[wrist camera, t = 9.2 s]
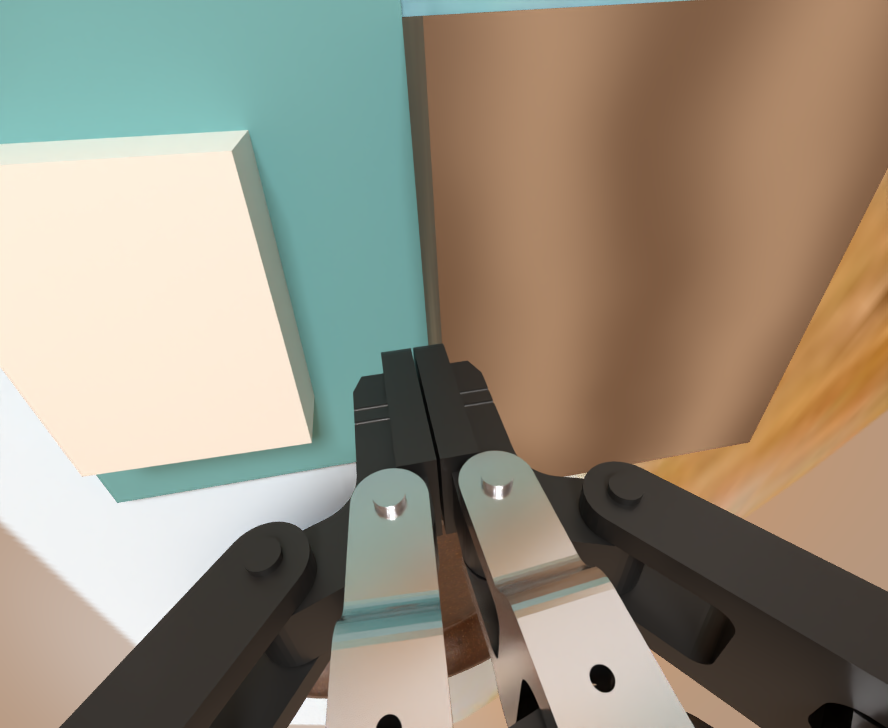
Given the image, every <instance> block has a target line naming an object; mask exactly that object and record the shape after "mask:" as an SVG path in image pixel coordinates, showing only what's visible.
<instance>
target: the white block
mask: <svg viewBox="0 0 888 728" xmlns="http://www.w3.org/2000/svg"><path fill="white" fill-rule="evenodd" d="M0 367H1V369H2V370H3V371H4V373H5V374H6V375H7V377H8V378H9V379H10V381H11V382H12V383H13V385H14V386H15V387H16V389H17V390H18V391H19V393H20V394H21V395H22V397H23V398H24V399H25V401H26V402H27V403H28V405H29V406H30V407H31V409H32V410H33V411H34V413H35V414H36V415H37V417H38V418H39V419H40V421H41V422H42V423H43V425H44V426H45V428H46V429H47V430H48V432H49V433H50V434H51V436H52V437H53V438H54V440H55V441H56V442H57V444H58V445H59V446H60V448H61V449H62V450H63V452H64V453H65V454H66V456H67V457H68V458H69V460H70V461H71V462H72V464H73V465H74V466H75V468H76V469H77V470H78V472H79V473H80V474H81V476H82V477H83V476H90V475H97V474H104V473H110V472H117V471H124V470H131V469H138V468H144V467H151V466H158V465H165V464H172V463H179V462H185V461H192V460H199V459H206V458H213V457H219V456H226V455H233V454H240V453H247V452H253V451H260V450H267V449H274V448H281V447H288V446H294V445H301V444H308V443H312V431H313V414H314V393H313V389H312V385H311V380H310V376H309V372H308V368H307V364H306V360H305V356H304V352H303V348H302V344H301V340H300V336H299V332H298V328H297V324H296V320H295V316H294V312H293V308H292V304H291V300H290V296H289V292H288V288H287V284H286V280H285V276H284V272H283V268H282V264H281V260H280V256H279V252H278V248H277V244H276V240H275V236H274V232H273V228H272V224H271V220H270V216H269V212H268V208H267V204H266V200H265V196H264V192H263V188H262V184H261V180H260V175H259V171H258V167H257V163H256V159H255V155H254V151H253V147H252V143H251V139H250V135H249V131H248V130H241V131H223V132H205V133H188V134H170V135H152V136H135V137H117V138H99V139H82V140H64V141H46V142H29V143H11V144H0Z"/></svg>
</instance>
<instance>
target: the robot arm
mask: <svg viewBox="0 0 888 728" xmlns="http://www.w3.org/2000/svg"><path fill="white" fill-rule="evenodd" d="M413 357H414V359H413ZM381 359H382V366H383V373H382V374H376V375H369V376H362V377H361V378H360V380H359V382H358V384H357V386H356V388H355V389H354V391H353V403H354V423H355V447H356V468H357V483H356V487H355V490H354V492H353V494H352V496H351V498H350V499H349V501H348V502H347V503H346V504H345V506H344V507H342V508H341V509H340V510H339V511H338V512H337V513H335V514H334V515H332V516H331V517H329V518H327V519H325V520H323V521H321V522H319V523H317V524H315V525H313V526H311V527H309V528H307V529H305V530H303V531H302V530H301V529H300V528H299V527H297V526H295V525H293V524H290V523H286V522H271V523H266V524H263V525H260V526H257V527H255V528H253V529H251V530H249V531H248V532H246V533H245V534H243V535H242V536H241V537H240V538H238V539H237V540H236V541H235V542H234V543H233V544H232V545H231V546H230V547H229V549H228V550H227V551H226V552H225V553H224V554H223V555H222V556H221V557H220V558H219V559H218V560H217V561H216V562H215V563H214V564H213V565H212V567H211V568H210V569H209V570H208V571H207V572H206V573H205V574H204V575H203V576H202V577H201V578H200V579H199V580H198V581H197V582H196V583H195V585H194V586H193V587H192V588H191V589H190V590H189V591H188V592H187V593H186V594H185V595H184V596H183V597H182V598H181V599H180V600H179V601H178V603H177V604H176V605H175V606H174V607H173V608H172V609H171V610H170V611H169V612H168V613H167V614H166V615H165V616H164V617H163V618H162V619H161V621H160V622H159V623H158V624H157V625H156V626H155V627H154V628H153V629H152V630H151V631H150V632H149V633H148V634H147V635H146V636H145V637H144V638H143V640H142V641H141V642H140V643H139V644H138V645H137V646H136V647H135V648H134V649H133V650H132V651H131V652H130V653H129V654H128V655H127V656H126V658H125V659H124V660H123V661H122V662H121V663H120V664H119V665H118V666H117V667H116V668H115V669H114V670H113V671H112V672H111V673H110V675H109V676H108V677H107V678H106V679H105V680H104V681H103V682H102V683H101V684H100V685H99V686H98V687H97V688H96V689H95V690H94V691H93V692H92V694H91V695H90V696H89V697H88V698H87V699H86V700H85V701H84V702H83V703H82V704H81V705H80V706H79V707H78V709H76V710H75V712H74V713H73V714H72V715H71V716H70V717H69V718H68V719H67V720H66V721H65V722H64V723H63V724H62V725H61V726H60V727H59V728H287V727H288V726H289V724H290V723H291V721H292V720H293V718H294V716H295V715H296V713H297V712H298V710H299V708H300V707H301V705H302V704H303V702H304V701H305V699H306V697H307V696H308V694H309V693H310V691H311V689H312V688H313V686H314V685H315V683H316V682H317V680H318V678H319V677H320V675H321V674H322V672H323V671H324V669H325V667H326V666H327V664H328V663H329V661H330V659H331V661H330V674H329V687H328V700H327V713H326V726H325V728H453V720H452V711H451V701H450V692H449V682H448V672H447V663H446V653H445V643H444V634H443V624H442V614H441V605H440V595H439V585H438V572H439V565H440V564H439V554H438V543H437V536H442V535H443V531H442V519H441V514H442V518H443V523H444V528H445V532H446V534H451V533H456V532H457V534H458V538H459V543H460V547H461V551H462V567H463V571H464V574H465V578H466V581H467V584H468V587H469V590H470V593H471V597H472V600H473V603H474V606H475V609H476V613H477V616H478V619H479V622H480V625H481V628H482V632H483V635H484V638H485V641H486V644H487V647H488V651H489V654H490V657H491V660H492V664H493V668H494V672H495V677H496V682H497V688H498V693H499V697H500V701H501V705H502V709H503V712H504V716H505V719H506V723H507V726H508V728H713V727H711V726H710V725H708V724H707V723H705V722H703V721H702V720H700V719H699V718H697V717H695V716H693V715H691V714H689V713H687V712H685V710H684V708H683V707H682V705H681V703H680V701H679V700H678V698H677V696H676V695H675V693H674V691H673V689H672V687H671V686H670V684H669V682H668V680H667V679H666V677H665V675H664V673H663V672H662V670H661V668H660V666H659V665H658V663H657V661H656V659H655V658H654V656H653V654H652V653H651V651H650V649H651V650H653V651H654V652H655V653H657V654H658V655H659V656H661V657H662V658H664V659H665V660H666V661H668V662H669V663H671V664H672V665H674V666H675V667H676V668H678V669H679V670H681V671H682V672H683V673H685V674H686V675H688V676H689V677H690V678H692V679H693V680H695V681H696V682H697V683H699V684H700V685H702V686H703V687H704V688H706V689H707V690H709V691H710V692H711V693H713V694H714V695H716V696H717V697H719V698H720V699H721V700H723V701H724V702H726V703H727V704H728V705H730V706H731V707H733V708H734V709H735V710H737V711H738V712H740V713H741V714H743V715H744V716H745V717H747V718H748V719H749V720H751V721H752V722H754V723H755V724H757V725H758V726H759V727H761V728H888V592H887V591H885V590H883V589H881V588H879V587H877V586H875V585H873V584H871V583H869V582H867V581H865V580H864V579H861V578H859V577H858V576H855V575H854V574H852V573H850V572H847V571H845V570H844V569H842V568H840V567H837V566H836V565H834V564H831V563H830V562H827V561H825V560H823V559H822V558H820V557H818V556H816V555H814V554H811V553H810V552H808V551H806V550H804V549H802V548H800V547H798V546H796V545H794V544H792V543H790V542H788V541H786V540H784V539H782V538H779V537H778V536H776V535H774V534H772V533H770V532H768V531H766V530H764V529H762V528H760V527H758V526H756V525H754V524H752V523H750V522H748V521H746V520H744V519H742V518H740V517H738V516H736V515H734V514H732V513H730V512H728V511H726V510H724V509H722V508H720V507H718V506H716V505H714V504H712V503H710V502H708V501H706V500H704V499H702V498H700V497H698V496H696V495H694V494H692V493H690V492H688V491H686V490H684V489H682V488H680V487H678V486H676V485H674V484H672V483H670V482H668V481H666V480H664V479H662V478H660V477H658V476H656V475H654V474H652V473H650V472H648V471H646V470H644V469H642V468H640V467H638V466H635V465H632V464H629V463H625V462H616V461H612V462H605V463H601V464H598V465H596V466H594V467H593V468H591V469H590V470H589V471H588V472H587V474H586V476H585V478H584V479H581V478H570V477H560V476H552V475H547V474H544V473H541V472H538V471H536V470H534V469H532V468H531V467H530V466H529V465H528V464H527V463H526V462H525V461H524V460H523V459H521V458H520V457H518V456H517V455H516V453H515V451H514V449H513V447H512V444H511V442H510V440H509V437H508V435H507V432H506V430H505V428H504V425H503V423H502V420H501V418H500V415H499V413H498V411H497V408H496V406H495V403H493V399H492V396H491V394H490V391H489V390H488V387H487V384H486V382H485V379H484V377H483V374H482V372H481V371H479V370H478V369H477V368H476V367H475V366H474V365H472V364H471V363H470V362H469V361H461V362H454V363H450V362H449V359H448V356H447V353H446V350H445V347H444V344H443V343H441V344H434V345H427V346H420V347H413V355H412V351H411V348H407V349H400V350H393V351H386V352H381ZM649 648H650V649H649Z"/></svg>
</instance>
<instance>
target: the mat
mask: <svg viewBox="0 0 888 728" xmlns="http://www.w3.org/2000/svg"><path fill="white" fill-rule="evenodd" d="M241 130H248V131H249V135H250V139H251V143H252V147H253V151H254V155H255V159H256V163H257V167H258V171H259V175H260V180H261V184H262V188H263V192H264V196H265V200H266V204H267V208H268V212H269V216H270V220H271V224H272V228H273V232H274V236H275V240H276V244H277V248H278V252H279V256H280V260H281V264H282V268H283V272H284V276H285V280H286V284H287V288H288V292H289V296H290V300H291V304H292V308H293V312H294V316H295V320H296V324H297V328H298V332H299V336H300V340H301V344H302V348H303V352H304V356H305V360H306V364H307V368H308V372H309V376H310V380H311V385H312V389H313V393H314V414H313V431H312V443H308V444H301V445H294V446H288V447H281V448H274V449H267V450H260V451H253V452H247V453H240V454H233V455H226V456H219V457H213V458H206V459H199V460H192V461H185V462H179V463H172V464H165V465H158V466H151V467H144V468H138V469H131V470H124V471H117V472H110V473H104V474H97V477H98V478H99V479H100V481H101V482H102V483H103V485H104V486H105V487H106V489H107V490H108V491H109V492H110V494H111V495H112V496H113V498H114V499H115V500H116V502H117V503H120V502H126V501H131V500H137V499H143V498H149V497H155V496H161V495H166V494H172V493H178V492H184V491H190V490H196V489H201V488H207V487H213V486H219V485H225V484H231V483H236V482H242V481H248V480H254V479H260V478H265V477H271V476H277V475H283V474H289V473H295V472H300V471H306V470H312V469H318V468H324V467H330V466H335V465H341V464H347V463H353V462H356V447H355V423H354V403H353V391H354V389H355V388H356V386H357V384H358V382H359V380H360V378H361V377H362V376H369V375H376V374H382V373H383V366H382V359H381V352H386V351H393V350H400V349H407V348H411V351H412V355H413V347H420V346H427V345H428V335H427V323H426V311H425V298H424V286H423V273H422V261H421V249H420V236H419V224H418V211H417V199H416V187H415V174H414V162H413V149H412V137H411V125H410V112H409V100H408V87H407V75H406V63H405V50H404V38H403V25H402V13H401V1H400V0H0V144H11V143H29V142H46V141H64V140H82V139H99V138H117V137H135V136H152V135H170V134H188V133H205V132H223V131H241ZM413 359H414V357H413Z"/></svg>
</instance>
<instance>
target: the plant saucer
mask: <svg viewBox="0 0 888 728" xmlns="http://www.w3.org/2000/svg"><path fill="white" fill-rule="evenodd" d="M441 519H442V531H443V535H442V536H437V543H438V554H439V564H440V565H439V572H438V585H439V595H440V605H441V614H442V624H443V634H444V643H445V653H446V663H447V672H448V677H451V676H453V675H456V674H458V673H461V672H463V671H465V670H468V669H470V668H472V667H474V666H476V665H479V664H481V663H482V662H484V661H486V660H488V659H490V658H491V657H490V654H489V651H488V647H487V644H486V641H485V638H484V635H483V632H482V628H481V625H480V622H479V619H478V616H477V613H476V609H475V606H474V603H473V600H472V597H471V593H470V590H469V587H468V584H467V581H466V578H465V574H464V571H463V567H462V551H461V547H460V543H459V538H458V534H457V532H456V533H451V534H446V532H445V528H444V523H443V518H442V514H441ZM330 661H331V659H330ZM330 661H329V663H328V664H327V666H326V667H325V669H324V671H323V672H322V674H321V675H320V677H319V678H318V680H317V682H316V683H315V685H314V686H313V688H312V689H311V691H310V693H309V694H308V696H307V697H306V698H325V699H328V687H329V674H330Z"/></svg>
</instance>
